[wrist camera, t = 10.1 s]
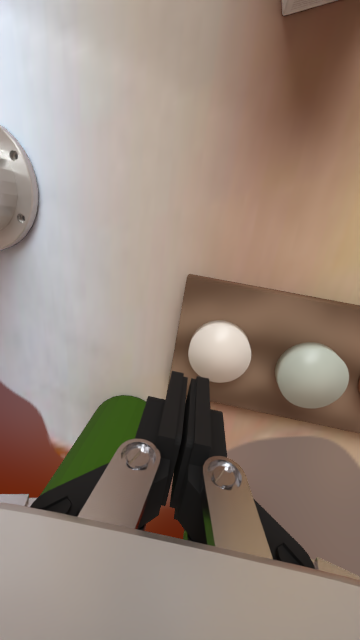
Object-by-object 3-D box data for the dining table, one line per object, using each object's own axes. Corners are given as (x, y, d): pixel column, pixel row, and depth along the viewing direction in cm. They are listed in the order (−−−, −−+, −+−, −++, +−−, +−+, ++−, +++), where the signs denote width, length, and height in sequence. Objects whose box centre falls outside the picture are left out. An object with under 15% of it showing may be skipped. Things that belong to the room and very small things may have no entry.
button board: (397, 430, 31) (408, 443, 29) (169, 382, 33) (167, 392, 31) (452, 322, 27) (470, 330, 25) (189, 273, 29) (187, 277, 27)
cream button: (204, 382, 30) (204, 390, 28) (179, 334, 28) (177, 340, 27) (258, 362, 28) (260, 370, 27) (234, 310, 27) (236, 315, 25)
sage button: (287, 406, 28) (292, 416, 27) (265, 356, 27) (268, 364, 25) (349, 386, 27) (357, 396, 25) (329, 332, 25) (336, 339, 24)
